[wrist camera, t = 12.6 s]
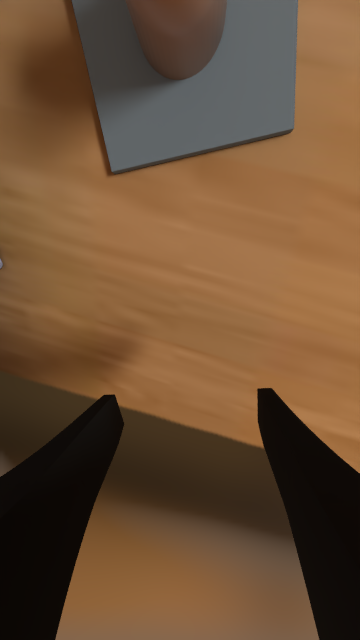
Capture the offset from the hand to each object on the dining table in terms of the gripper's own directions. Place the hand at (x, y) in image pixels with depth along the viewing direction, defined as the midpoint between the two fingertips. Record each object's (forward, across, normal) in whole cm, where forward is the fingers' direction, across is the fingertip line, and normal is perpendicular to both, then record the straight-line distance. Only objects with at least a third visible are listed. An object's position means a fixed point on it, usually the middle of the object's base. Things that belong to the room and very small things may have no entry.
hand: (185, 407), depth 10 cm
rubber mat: (+9, -2, -19) cm, 21 cm away
